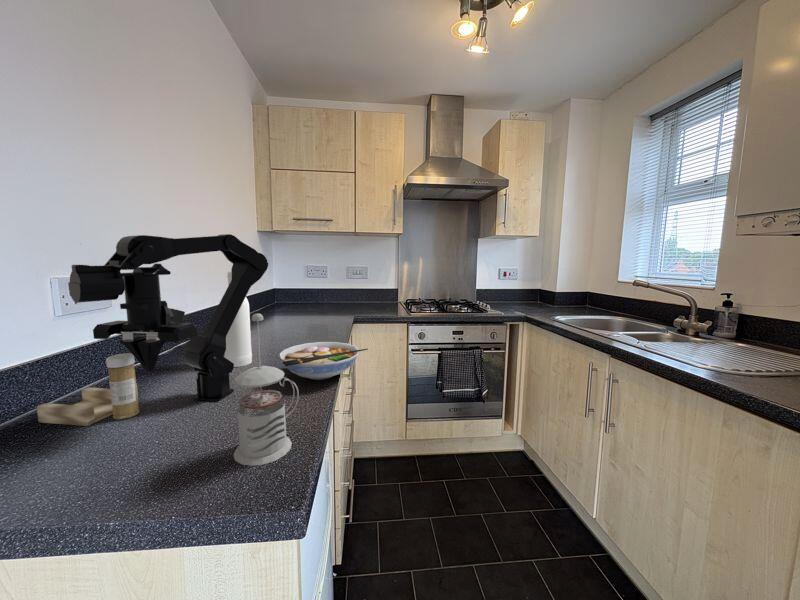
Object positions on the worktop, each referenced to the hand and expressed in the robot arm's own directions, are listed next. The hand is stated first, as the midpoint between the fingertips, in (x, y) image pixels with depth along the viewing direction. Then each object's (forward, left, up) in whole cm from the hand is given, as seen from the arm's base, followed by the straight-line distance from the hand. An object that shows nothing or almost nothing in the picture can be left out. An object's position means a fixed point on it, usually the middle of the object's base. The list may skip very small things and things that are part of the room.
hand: (150, 370), depth 68 cm
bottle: (+4, -36, -11) cm, 38 cm away
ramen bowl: (-27, -29, -11) cm, 41 cm away
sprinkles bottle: (+7, 0, -11) cm, 13 cm away
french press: (-30, +7, -11) cm, 32 cm away
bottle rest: (+16, 0, -10) cm, 19 cm away
